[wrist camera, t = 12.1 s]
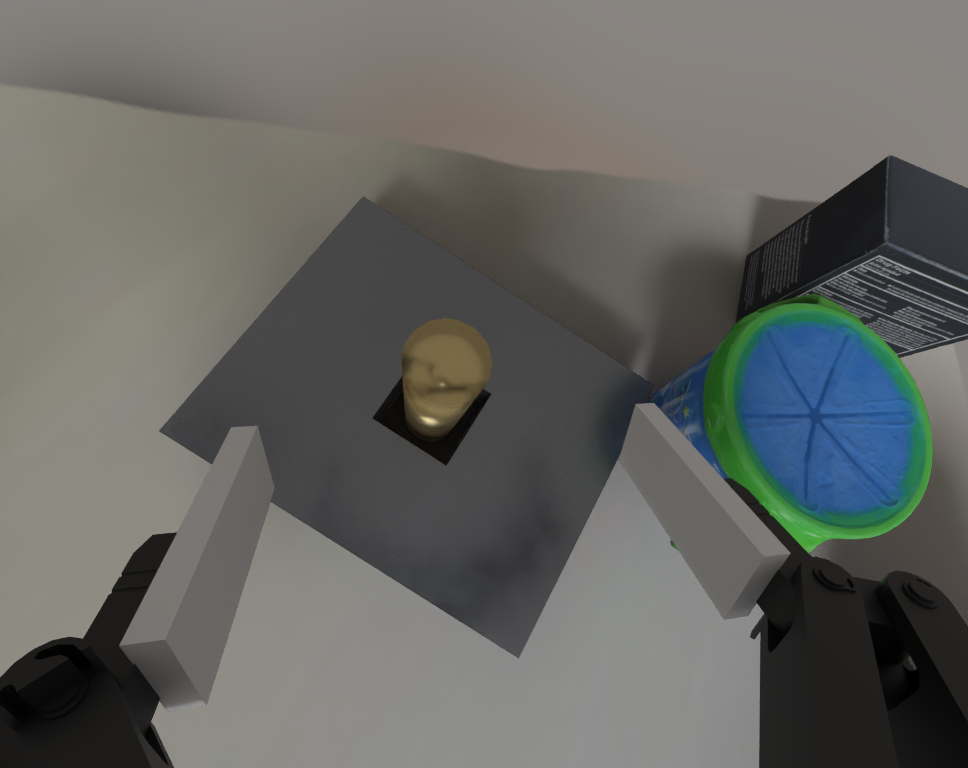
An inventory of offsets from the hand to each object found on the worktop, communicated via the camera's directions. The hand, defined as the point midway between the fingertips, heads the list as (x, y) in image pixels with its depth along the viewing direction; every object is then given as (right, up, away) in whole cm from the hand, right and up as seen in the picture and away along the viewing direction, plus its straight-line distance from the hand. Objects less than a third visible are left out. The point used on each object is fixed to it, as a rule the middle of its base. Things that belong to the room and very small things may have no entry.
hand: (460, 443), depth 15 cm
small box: (+25, +8, +17) cm, 31 cm away
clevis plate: (-2, 0, +10) cm, 11 cm away
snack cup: (+14, -2, +13) cm, 19 cm away
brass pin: (-2, 0, +10) cm, 11 cm away
